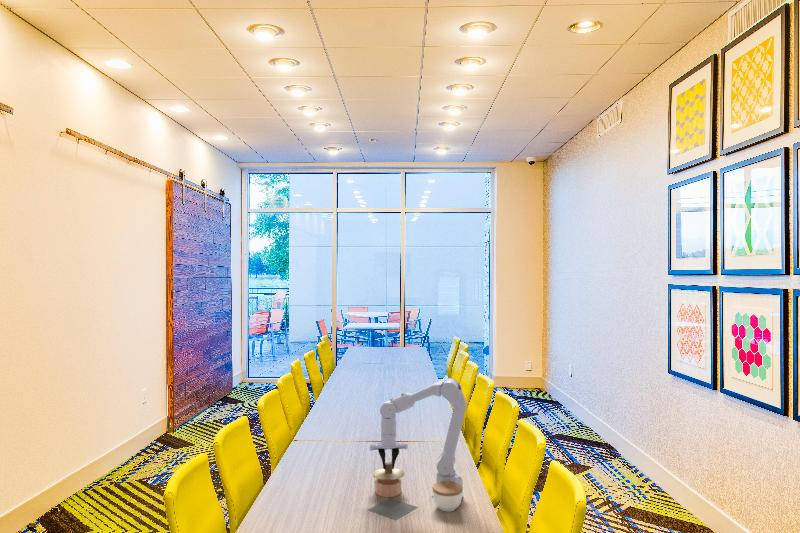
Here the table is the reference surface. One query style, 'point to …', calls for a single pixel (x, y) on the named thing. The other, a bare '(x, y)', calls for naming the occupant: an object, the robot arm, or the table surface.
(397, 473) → the lid
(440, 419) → the table surface
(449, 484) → the lidded jar
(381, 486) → the bowl
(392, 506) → the mat
